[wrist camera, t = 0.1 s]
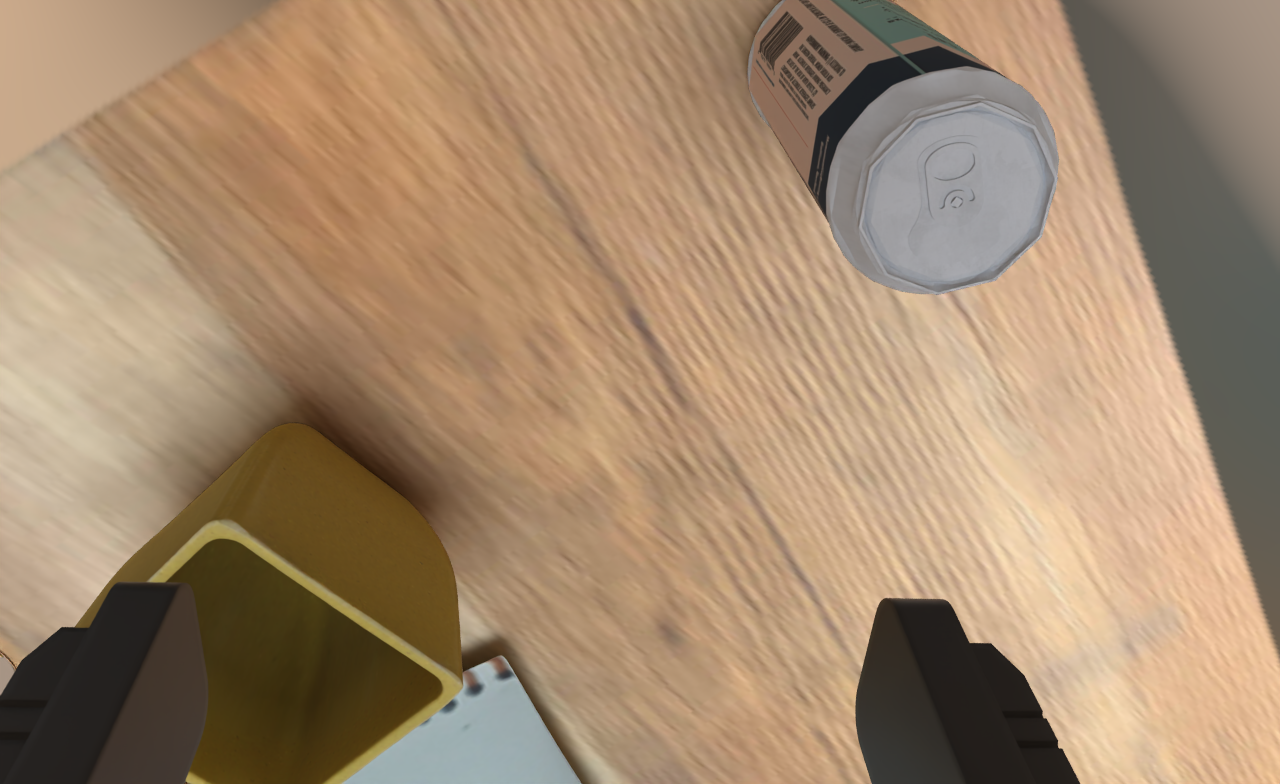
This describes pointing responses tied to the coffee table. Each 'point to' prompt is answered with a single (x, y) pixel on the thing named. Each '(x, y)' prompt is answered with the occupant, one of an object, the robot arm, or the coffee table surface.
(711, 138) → the coffee table surface
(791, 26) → the beer can
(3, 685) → the wineglass
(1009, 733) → the robot arm
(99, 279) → the coffee table surface
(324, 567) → the flower pot
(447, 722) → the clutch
